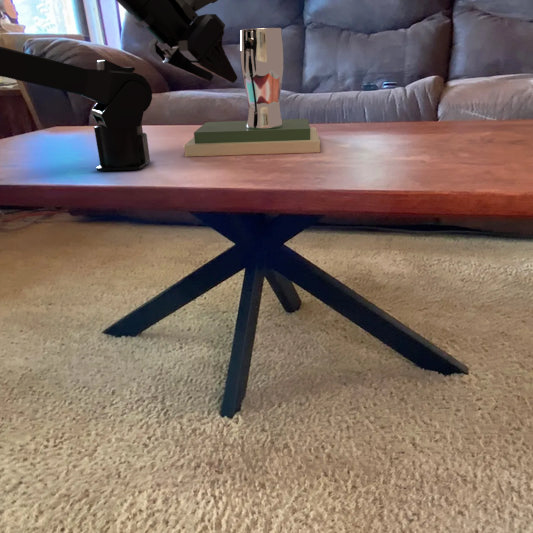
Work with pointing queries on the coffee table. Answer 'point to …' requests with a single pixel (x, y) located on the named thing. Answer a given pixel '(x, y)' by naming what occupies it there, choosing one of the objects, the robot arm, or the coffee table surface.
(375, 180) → the coffee table surface
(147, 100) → the robot arm
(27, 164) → the coffee table surface
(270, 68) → the beer glass
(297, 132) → the book stack
